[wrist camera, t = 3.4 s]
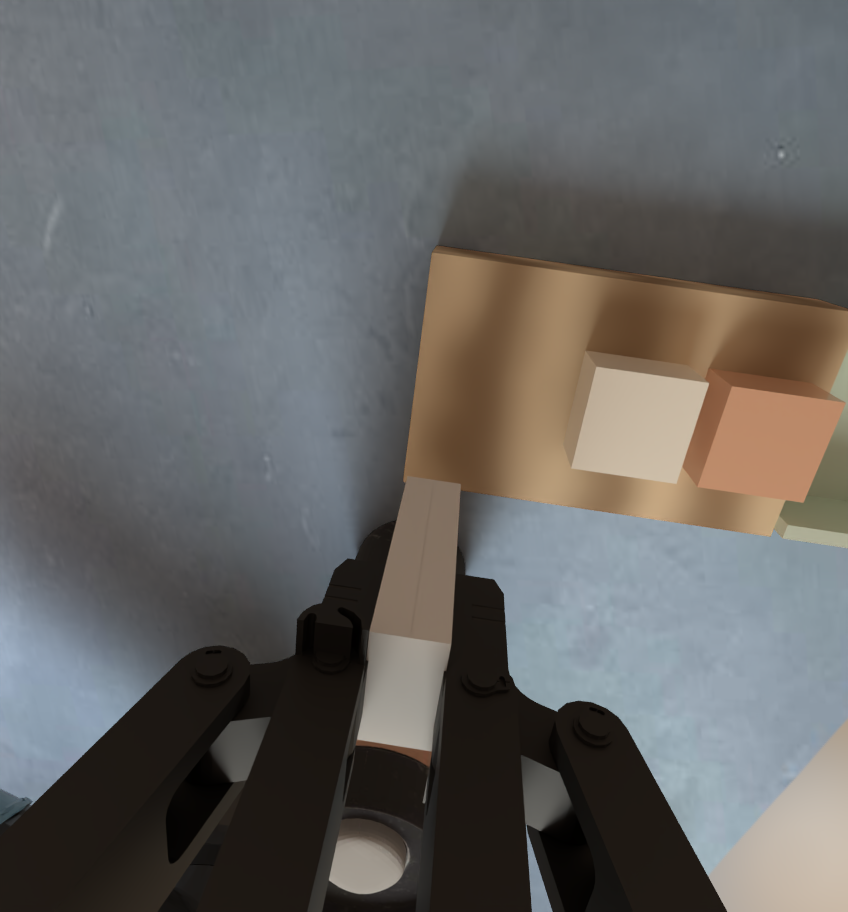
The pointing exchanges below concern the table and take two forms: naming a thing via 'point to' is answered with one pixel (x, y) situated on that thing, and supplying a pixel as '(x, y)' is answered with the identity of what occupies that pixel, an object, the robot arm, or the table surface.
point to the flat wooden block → (559, 364)
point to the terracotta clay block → (761, 435)
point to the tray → (824, 487)
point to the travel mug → (381, 809)
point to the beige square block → (633, 416)
